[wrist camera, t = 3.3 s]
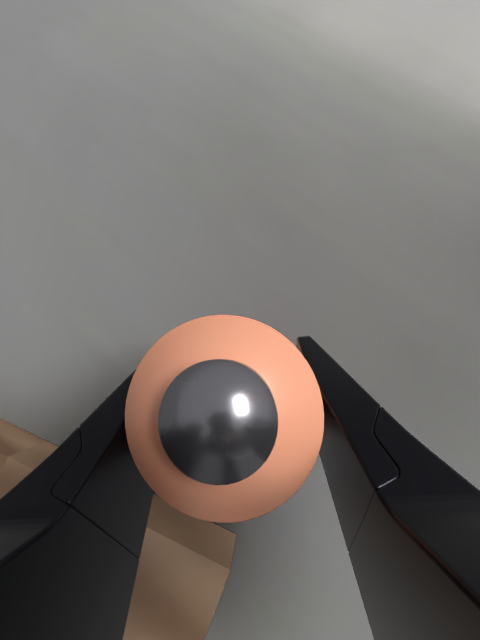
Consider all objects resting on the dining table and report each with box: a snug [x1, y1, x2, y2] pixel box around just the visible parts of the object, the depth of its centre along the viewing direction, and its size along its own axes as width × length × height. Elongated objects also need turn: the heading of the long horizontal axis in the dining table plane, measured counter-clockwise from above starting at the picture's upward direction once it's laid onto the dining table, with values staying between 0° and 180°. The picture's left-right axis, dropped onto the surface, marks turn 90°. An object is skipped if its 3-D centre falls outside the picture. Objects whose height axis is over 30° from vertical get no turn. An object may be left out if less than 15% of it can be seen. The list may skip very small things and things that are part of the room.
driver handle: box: [125, 315, 324, 523], centre depth 11 cm, size 4×4×11 cm
